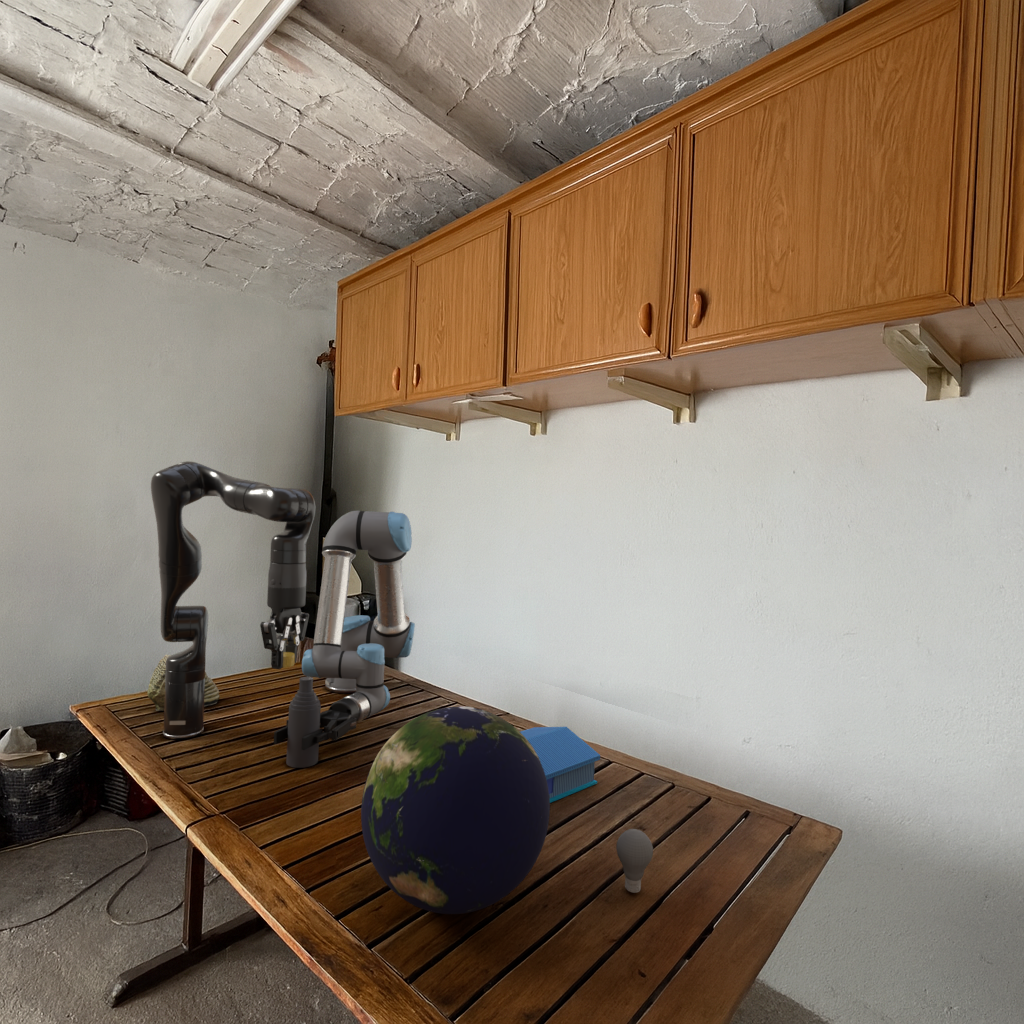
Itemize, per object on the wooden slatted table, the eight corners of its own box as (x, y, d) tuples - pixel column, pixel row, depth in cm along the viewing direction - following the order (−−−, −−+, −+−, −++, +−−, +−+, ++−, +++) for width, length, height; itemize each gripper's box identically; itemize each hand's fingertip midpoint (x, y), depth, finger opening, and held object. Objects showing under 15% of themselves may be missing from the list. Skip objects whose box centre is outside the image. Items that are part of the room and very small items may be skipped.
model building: (474, 846, 117) (476, 792, 117) (402, 796, 135) (404, 749, 135) (608, 788, 143) (610, 744, 143) (533, 753, 161) (535, 714, 161)
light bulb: (610, 879, 108) (613, 822, 108) (644, 879, 109) (647, 822, 109) (619, 902, 102) (622, 840, 102) (655, 901, 103) (658, 840, 103)
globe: (316, 925, 94) (323, 724, 93) (419, 831, 121) (425, 675, 121) (501, 992, 83) (511, 764, 82) (568, 871, 110) (576, 700, 110)
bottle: (282, 767, 147) (287, 682, 147) (290, 755, 154) (294, 674, 154) (314, 767, 147) (318, 682, 147) (320, 755, 155) (324, 674, 155)
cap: (298, 665, 132) (299, 654, 132) (279, 669, 129) (279, 657, 129) (287, 661, 135) (288, 650, 135) (268, 664, 132) (269, 653, 132)
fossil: (144, 707, 182) (145, 655, 182) (212, 696, 194) (213, 647, 194) (151, 716, 175) (153, 662, 175) (221, 703, 188) (223, 653, 188)
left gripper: (282, 589, 124) (278, 676, 124) (321, 581, 138) (318, 659, 138) (249, 586, 126) (245, 672, 126) (291, 578, 140) (288, 656, 140)
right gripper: (380, 732, 164) (324, 765, 142) (316, 719, 171) (254, 749, 150) (381, 703, 164) (325, 732, 142) (317, 691, 171) (255, 717, 149)
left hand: (284, 665), depth 132 cm, fingers closed on cap, 4 cm apart
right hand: (289, 740), depth 146 cm, fingers closed on bottle, 7 cm apart
